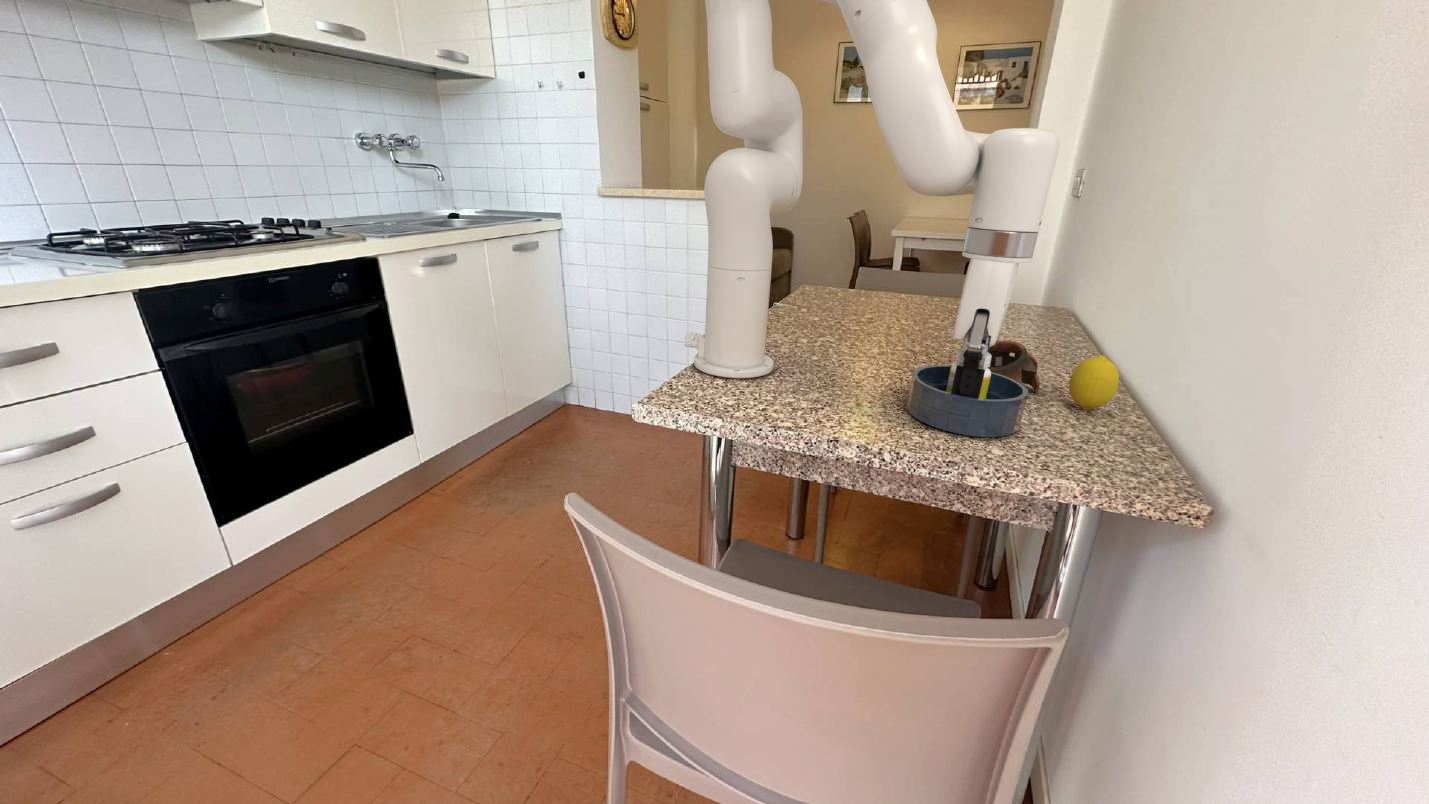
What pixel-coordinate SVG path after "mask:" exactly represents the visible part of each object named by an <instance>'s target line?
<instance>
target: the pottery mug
mask: <svg viewBox="0 0 1429 804" xmlns="http://www.w3.org/2000/svg"><path fill="white" fill-rule="evenodd" d="M988 353H990V354H991V362H990V366H989V367H987V368H988V369H989V370H990V371H991V372H993V373H997V374H1000V375H1003V376H1005V377H1008V378H1011V379H1013V380H1015V381H1017V382H1019V383H1021V384H1022V385H1027V386H1030V387H1032V389H1033V391H1034V394H1035V395H1038V394H1039V390H1040V386H1041V382H1040V378H1039V376H1038V373H1037V372H1038V361H1037V358H1036V357H1035V356H1034V355H1033V354H1032V353H1030V352H1029V351H1028V350H1027V348H1026V347H1025V345H1024V344H1022V343H1020V342H1017V341H1014V340H1006V339H1005V340H996V343H995V345H993V346H991V347H989V348H988ZM1011 354H1014V355H1011Z"/></svg>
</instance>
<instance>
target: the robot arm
mask: <svg viewBox="0 0 1429 804" xmlns="http://www.w3.org/2000/svg"><path fill="white" fill-rule="evenodd" d="M821 1H822V2H826V3H828V4H833V5H836V6H838V8H839V10H840V13H841V15H842V17H843V20H844V22H845V25H846V28H847V29H848V32H849V35H850V37H851V40H852V42H853V45H854V47H855V49H856V52H857V54H858V57H859V59H860V61H861V64H862V67H863V71H864V75H865V83H866V85H867V87H868V88H867V89H868V92H869V96H870V101H871V104H872V108H873V111H874V115H875V119H876V121H877V124H878V127H879V129H880V132H881V135H882V137H883V140H884V141H885V142H884V143H885V144H886V146H887V150H888V151H889V154H890V156H891V159H892V161H893V163H894V166H895V167H896V170H897V172H898V174H899V176H900V178H901V179H902V181H903V182H904V183H905V184H906V186H907V187H908V188H909V189H910V190H912V191H913V192H914V193H917V194H919V195H922V196H927V197H954V196H955V197H956V196H965V195H973V199H972V203H971V208H970V213H969V217H968V218H969V219H968V223H967V228H966V233H965V237H964V243H963V247H962V252H961V256H962V257H964V258H968V259H970V260H969V264H968V266H967V270H966V273H965V277H964V281H963V286H962V291H961V294H960V300H959V304H958V308H957V313H956V319H955V321H954V322H955V323H954V327H953V331H952V335H951V339H952V341H953V342H954V343H957V342H958V340H961V341H962V340H963V339H964V340H963V343H962V348H961V349H962V353H961V357H960V361H959V365H957V367H956V372H955V376H954V381H953V386H952V391H951V393H952V394H955V395H961V396H966V397H971V398H979V395H980V391H981V386H982V382H983V378H984V373H985V370H984V369H983V367H984V363H985V359H986V354H987V352H988V348H989V347H991V346H993V345H995V343H996V341H998V337H999V335H1000V332H1001V330H1002V327H1003V324H1004V321H1005V318H1006V315H1007V312H1008V309H1009V306H1010V302H1011V298H1012V294H1013V291H1014V287H1015V282H1016V278H1017V274H1018V271H1019V266H1020V264H1027V263H1028V264H1029V263H1032V261H1033V256H1034V254H1035V253H1034V252H1035V250H1036V249H1035V248H1036V244H1037V241H1038V237H1039V231H1040V229H1041V224H1042V220H1043V216H1044V213H1045V212H1044V211H1045V208H1046V203H1047V200H1048V195H1049V191H1050V188H1051V184H1052V179H1053V175H1054V172H1055V167H1056V164H1057V163H1056V162H1057V159H1058V154H1059V150H1060V145H1061V144H1060V143H1061V142H1060V138H1059V136H1058V134H1057V133H1056V131H1054V130H1053V131H1052V130H1050V129H1045V128H1035V127H1034V128H1033V127H1012V128H1011V127H1010V128H1003V129H998V130H994V131H993V132H992V133H982V132H975V131H970V130H967V129H965V127H964V126H963V124H962V121H961V118H960V117H959V113H958V111H957V109H956V107H955V104H954V102H953V99H952V96H951V95H950V92H949V89H948V87H947V84H946V80H945V78H944V75H943V73H942V69H941V66H940V62H939V59H938V52H937V42H938V29H937V24H936V20H935V17H934V15H933V13H932V10H931V8H930V6H929V3H928V0H820V2H821ZM704 3H705V12H706V13H705V14H706V25H707V26H706V28H707V29H706V30H707V31H706V32H707V61H708V62H707V63H708V83H709V105H710V113H711V116H712V120H713V123H714V124H715V126H716V127H717V128H718V130H720V131H721V132H722V133H723V134H726V135H728V136H730V137H733V138H737V139H742V140H743V145H744V147H736V148H731V149H728V150H726V151H724V152H723V153H721V154H719V155H718V156H717V157H716V158H715V159H714V160H713V161H712V163H711V164H710V166H709V168H708V170H707V172H706V176H705V179H704V187H703V189H704V190H703V191H704V204H705V212H706V218H707V219H706V220H707V221H706V222H707V237H708V238H707V271H706V273H707V275H706V296H705V297H706V300H705V323H704V325H705V326H704V333H703V334H699V333H697V332H691V331H687V332H686V333H685V335H684V341H683V345H684V347H687V348H695V349H696V350H697V354H695V355H694V357H693V365H694V367H695V368H696V369H697V370H698V371H700V372H702V373H705V374H708V375H711V376H714V377H715V376H716V377H720V378H727V379H751V378H758V377H763V376H766V375H769V374H771V373H772V372H773V370H774V367H775V361H774V360H773V358H771V357H770V356H769V355H767V354H766V343H767V330H768V329H767V327H768V318H769V317H768V316H769V306H770V305H769V304H770V293H771V282H772V281H771V280H772V269H773V251H774V249H773V248H774V245H773V242H774V241H773V234H772V226H771V219H777V218H781V217H783V216H785V215H786V214H788V213H789V212H790V211H791V210H792V209H793V208H795V206H796V205H797V203H798V201H799V198H800V196H801V193H802V187H803V180H804V179H803V177H804V140H803V139H804V135H803V134H804V126H803V123H804V122H803V121H804V120H803V116H804V115H803V105H802V100H801V97H800V93H799V91H798V89H797V86H796V84H795V82H793V80H792V79H791V78H790V77H789V76H787V75H786V74H785V73H783V72H782V71H779V70H777V69H775V64H774V58H773V56H774V55H773V21H772V20H773V19H772V12H771V6H770V2H769V0H704ZM980 350H981V351H980ZM981 352H982V353H981ZM979 362H980V364H979ZM978 367H979V368H978Z"/></svg>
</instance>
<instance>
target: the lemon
mask: <svg viewBox="0 0 1429 804" xmlns="http://www.w3.org/2000/svg"><path fill="white" fill-rule="evenodd" d="M1119 384H1120V373H1119V369H1118V368H1117V366H1116V365H1115V363H1114V362H1112V361H1111V360H1110V359H1108V358H1107V357H1106V355H1103V354H1099V355H1097V356H1092V357H1088V358H1086V359H1084V360H1083V361H1081V362H1079V363H1078V365H1077V366H1076V367H1075V368H1074V370H1073V372H1072V373H1071V376H1070V378H1069V383H1068V391H1069V392H1068V393H1069V395H1070V398H1071V399H1072V401H1074V402H1075V403H1076V404H1078V405H1079V406H1080V408H1081V409H1082V410H1083V411H1086V412H1088V411H1090V410H1092V409H1097V408H1101V407H1103V406H1105V405H1107V404H1109V403H1110V402H1111V401H1112V400H1113V398H1114V397H1115V395H1116V393H1117V391H1118V388H1119Z"/></svg>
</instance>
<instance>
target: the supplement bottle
mask: <svg viewBox="0 0 1429 804" xmlns="http://www.w3.org/2000/svg"><path fill="white" fill-rule="evenodd" d="M980 351H981V350H980ZM961 353H962V348H960V349H958V350H957V352H956V356H955V363H954V364H952V365H951V366H952V367H951V370H950V375H949V380H948V385H947V390H946V392H948V393H951V391H952V386H953V381H954V376H955V372H956V367H957V365H959V361H960V357H961ZM981 353H982V352H981ZM990 362H991V354H990V353H988V352H987V354H986V359H985V363H984V367H983V369H984V370H985V373H984V378H983V382H982V386H981V391H980V395H979V399H986V395H987V390H988V386H989V382H990V377H991V371H990V370H989V369H988V368H987V367H990ZM979 364H980V362H979ZM978 368H979V367H978Z"/></svg>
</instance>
